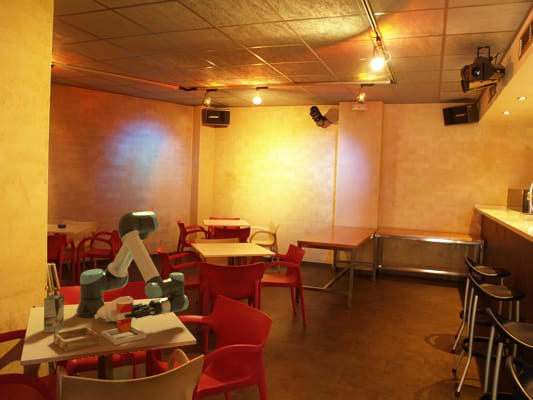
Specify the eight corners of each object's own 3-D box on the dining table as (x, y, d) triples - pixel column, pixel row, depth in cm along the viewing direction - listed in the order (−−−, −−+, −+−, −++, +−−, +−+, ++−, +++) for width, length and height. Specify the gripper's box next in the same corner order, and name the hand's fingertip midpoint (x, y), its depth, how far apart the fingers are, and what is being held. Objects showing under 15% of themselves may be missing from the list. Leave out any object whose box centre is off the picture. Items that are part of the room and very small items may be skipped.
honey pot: (130, 326, 231) (94, 331, 229) (134, 312, 243) (100, 317, 241) (125, 304, 226) (88, 309, 225) (129, 291, 239) (95, 296, 237)
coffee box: (57, 332, 216) (57, 299, 215) (43, 332, 215) (43, 299, 215) (64, 326, 225) (64, 294, 224) (50, 326, 225) (50, 294, 224)
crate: (53, 341, 204) (53, 333, 203) (87, 335, 214) (87, 326, 214) (65, 351, 193) (65, 342, 192) (99, 343, 203) (100, 335, 202)
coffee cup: (117, 327, 217) (118, 296, 216) (134, 327, 217) (135, 296, 217) (112, 333, 208) (113, 300, 207) (131, 333, 209) (131, 301, 208)
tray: (101, 335, 213) (102, 331, 213) (131, 329, 223) (131, 325, 223) (115, 344, 202) (115, 340, 202) (146, 337, 212) (146, 333, 212)
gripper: (168, 319, 217) (123, 328, 202) (149, 309, 232) (105, 317, 216) (169, 304, 217) (123, 312, 202) (149, 295, 232) (105, 302, 216)
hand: (114, 315), depth 209 cm, fingers closed on coffee cup, 7 cm apart
